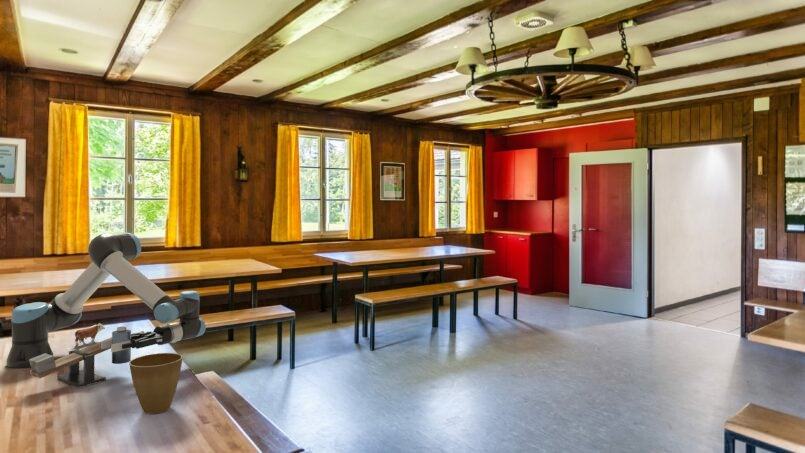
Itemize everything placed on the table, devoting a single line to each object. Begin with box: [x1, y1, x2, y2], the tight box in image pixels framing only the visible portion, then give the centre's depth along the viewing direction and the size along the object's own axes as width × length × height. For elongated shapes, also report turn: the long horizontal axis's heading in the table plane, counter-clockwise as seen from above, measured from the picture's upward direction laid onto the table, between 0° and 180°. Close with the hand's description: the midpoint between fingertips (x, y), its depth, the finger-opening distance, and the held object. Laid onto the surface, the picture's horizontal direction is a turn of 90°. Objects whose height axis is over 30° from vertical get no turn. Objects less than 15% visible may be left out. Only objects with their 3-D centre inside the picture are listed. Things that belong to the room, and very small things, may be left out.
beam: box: [29, 336, 112, 379], centre depth 178 cm, size 9×30×6 cm, turn 148°
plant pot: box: [128, 352, 183, 415], centre depth 153 cm, size 15×15×16 cm
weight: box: [111, 326, 132, 365], centre depth 179 cm, size 6×6×12 cm
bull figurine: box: [74, 323, 106, 346], centre depth 228 cm, size 4×13×8 cm, turn 155°
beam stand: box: [56, 349, 107, 388], centre depth 179 cm, size 16×9×10 cm, turn 58°
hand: (106, 346), depth 174 cm, fingers closed on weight, 6 cm apart
